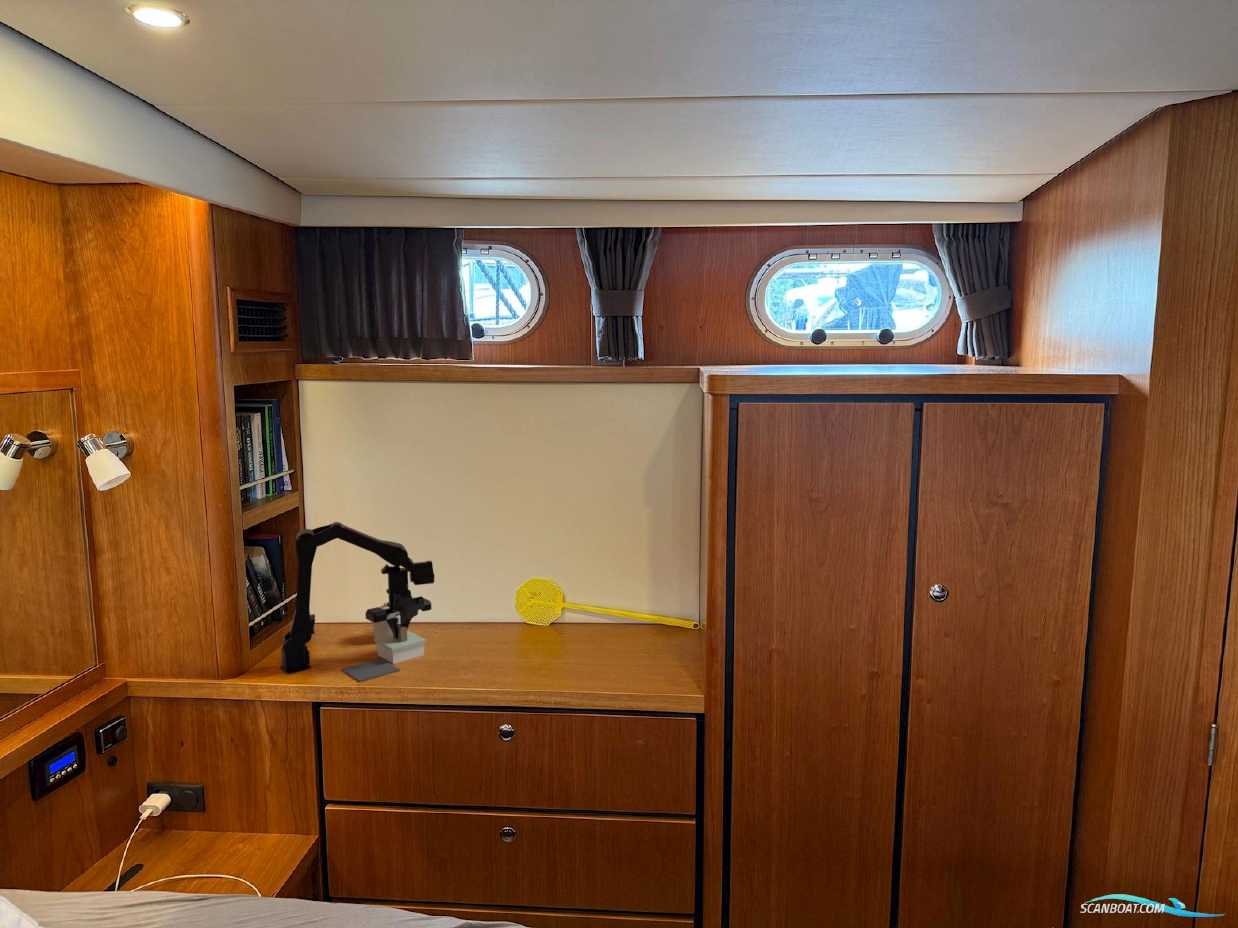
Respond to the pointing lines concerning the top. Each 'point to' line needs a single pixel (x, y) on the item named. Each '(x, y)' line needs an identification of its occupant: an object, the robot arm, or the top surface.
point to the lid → (400, 640)
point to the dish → (400, 653)
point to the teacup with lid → (383, 625)
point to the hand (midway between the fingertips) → (400, 637)
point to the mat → (370, 669)
